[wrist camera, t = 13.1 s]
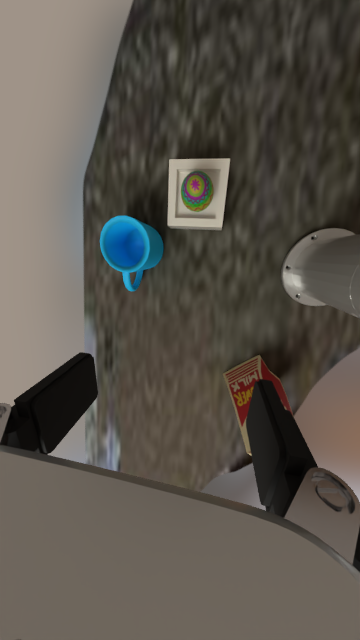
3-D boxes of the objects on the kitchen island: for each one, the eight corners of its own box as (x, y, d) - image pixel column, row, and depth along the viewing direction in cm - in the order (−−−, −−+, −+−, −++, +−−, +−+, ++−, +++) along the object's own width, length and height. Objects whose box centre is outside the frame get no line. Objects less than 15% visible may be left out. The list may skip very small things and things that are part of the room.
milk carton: (222, 373, 42) (229, 467, 23) (258, 352, 39) (299, 441, 20) (246, 401, 43) (270, 510, 25) (282, 383, 40) (342, 493, 22)
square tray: (228, 168, 30) (230, 158, 27) (221, 230, 33) (222, 227, 30) (173, 168, 31) (169, 159, 28) (171, 228, 34) (167, 225, 31)
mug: (124, 221, 35) (99, 212, 27) (166, 227, 34) (152, 219, 27) (122, 284, 39) (100, 291, 32) (159, 291, 38) (145, 299, 31)
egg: (219, 189, 29) (221, 173, 23) (203, 220, 31) (200, 212, 25) (193, 172, 29) (188, 152, 23) (178, 204, 31) (170, 193, 25)
